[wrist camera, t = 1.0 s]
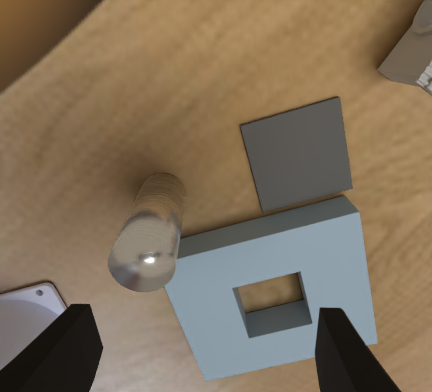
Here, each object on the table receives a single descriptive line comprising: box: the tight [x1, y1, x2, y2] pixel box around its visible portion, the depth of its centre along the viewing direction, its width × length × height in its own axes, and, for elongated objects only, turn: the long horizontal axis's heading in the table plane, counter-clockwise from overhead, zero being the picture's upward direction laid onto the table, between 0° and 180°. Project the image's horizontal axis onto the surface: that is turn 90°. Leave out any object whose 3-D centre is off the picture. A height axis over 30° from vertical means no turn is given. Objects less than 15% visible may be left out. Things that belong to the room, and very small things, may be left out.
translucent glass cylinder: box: [108, 173, 186, 292], centre depth 19 cm, size 3×3×8 cm
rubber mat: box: [240, 97, 353, 212], centre depth 22 cm, size 6×6×1 cm
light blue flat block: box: [164, 195, 378, 381], centre depth 25 cm, size 13×11×2 cm
